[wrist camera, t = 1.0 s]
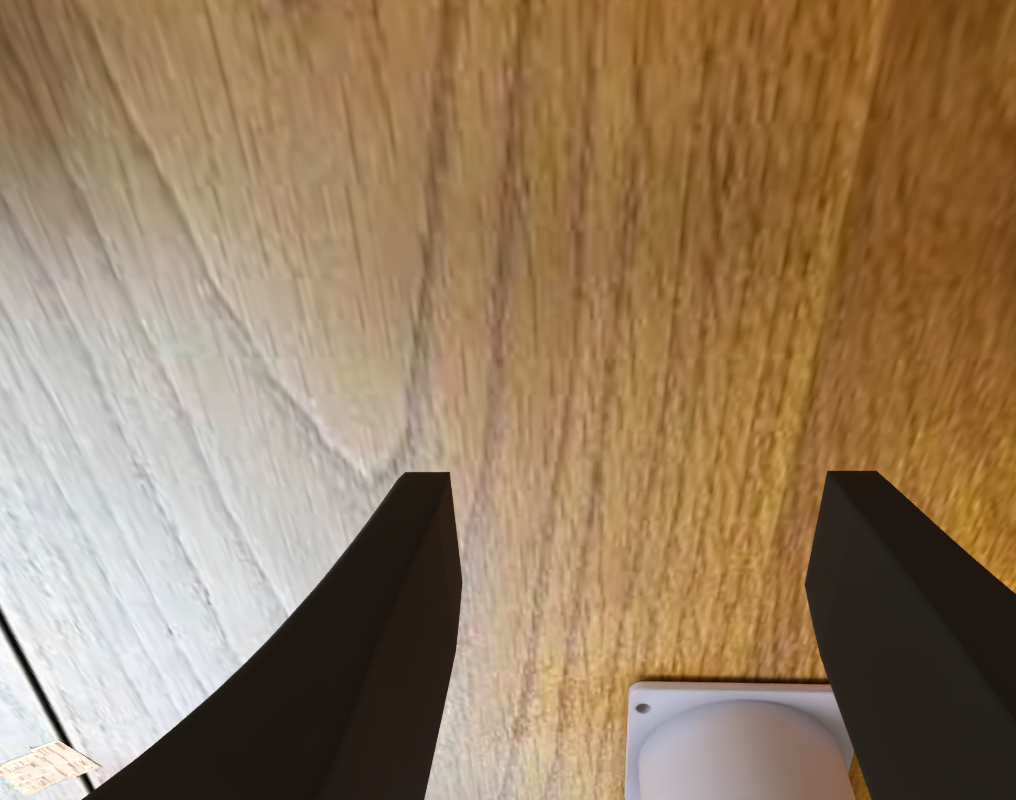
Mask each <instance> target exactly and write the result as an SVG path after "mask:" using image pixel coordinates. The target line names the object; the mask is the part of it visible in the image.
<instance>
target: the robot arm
mask: <svg viewBox="0 0 1016 800" xmlns="http://www.w3.org/2000/svg"><path fill="white" fill-rule="evenodd" d="M805 589H806V594H807V598H808V603H809V608H810V613H811V617H812V622H813V627H814V631H815V635H816V640H817V644H818V648H819V652H820V656H821V659H822V662H823V665H824V668H825V671H826V674H827V677H828V680H829V682H830V685H829V684H773V683H717V682H661V681H641V682H637V683H634V684H633V685H632V686H631V687H630V688H629V695H628V719H627V744H626V768H625V792H624V800H856V799H855V796H854V793H853V789H852V786H851V783H850V780H849V776H848V772H849V768H850V765H851V761H852V758H853V755H854V752H855V755H856V757H857V760H858V763H859V766H860V768H861V771H862V774H863V777H864V779H865V782H866V785H867V788H868V790H869V793H870V796H871V799H872V800H1016V594H1015V593H1014V592H1013V591H1011V590H1010V589H1009V588H1008V587H1007V586H1005V585H1004V584H1003V583H1002V582H1001V581H999V580H998V579H997V578H996V577H995V576H994V575H992V574H991V573H990V572H989V571H988V570H987V569H985V568H984V567H983V566H982V565H981V564H980V563H978V562H977V561H976V560H975V559H974V558H973V557H972V556H970V555H969V554H968V553H967V552H966V551H965V550H964V549H963V548H961V547H960V546H959V545H958V544H957V543H956V542H955V541H953V540H952V539H951V538H950V537H949V536H948V535H947V534H946V533H945V532H944V531H942V530H941V529H940V528H939V527H938V526H937V525H936V524H935V523H934V522H932V521H931V520H930V519H929V518H928V517H927V516H926V515H925V514H924V513H923V512H922V511H920V510H919V509H918V508H917V507H916V506H915V505H914V504H913V503H912V502H911V501H909V500H908V499H907V498H906V497H905V496H904V495H903V494H902V493H901V492H900V491H899V490H897V489H896V488H895V487H894V486H893V485H892V484H891V483H890V482H889V481H887V480H886V479H885V478H884V477H883V476H882V475H880V474H879V473H878V472H877V471H827V476H826V481H825V486H824V491H823V496H822V501H821V506H820V511H819V516H818V521H817V526H816V531H815V536H814V541H813V546H812V551H811V556H810V561H809V566H808V571H807V576H806V581H805ZM461 592H462V574H461V566H460V557H459V548H458V540H457V531H456V523H455V514H454V505H453V497H452V488H451V479H450V472H405V473H404V474H403V475H402V476H401V477H400V478H399V479H398V480H397V481H396V483H395V484H394V486H393V487H392V489H391V490H390V491H389V493H388V494H387V496H386V497H385V499H384V500H383V501H382V503H381V504H380V506H379V507H378V508H377V510H376V511H375V513H374V514H373V515H372V517H371V518H370V519H369V521H368V522H367V523H366V525H365V526H364V527H363V529H362V530H361V531H360V533H359V534H358V535H357V537H356V538H355V539H354V541H353V542H352V543H351V544H350V546H349V547H348V548H347V549H346V551H345V552H344V553H343V554H342V556H341V557H340V558H339V559H338V561H337V562H336V563H335V564H334V566H333V567H332V568H331V569H330V571H329V572H328V573H327V574H326V576H325V577H324V578H323V579H322V580H321V582H320V583H319V584H318V585H317V586H316V588H315V589H314V590H313V591H312V592H311V593H310V594H309V595H308V597H307V598H306V599H305V600H304V601H303V602H302V603H301V604H300V606H299V607H298V608H297V609H296V610H295V611H294V612H293V613H292V614H291V616H290V617H289V618H288V619H287V620H286V621H285V622H284V623H283V624H282V626H281V627H280V628H279V629H278V630H277V631H276V632H275V633H274V634H273V635H272V636H271V637H270V638H269V640H268V641H267V642H266V643H265V644H264V645H263V646H262V647H261V648H260V649H259V650H258V651H257V652H256V653H255V654H254V655H253V656H252V657H251V658H250V659H249V660H248V661H247V662H246V663H245V664H244V665H243V666H242V667H241V668H240V669H239V670H238V671H236V672H235V673H234V674H233V675H232V676H231V677H230V678H229V679H228V680H227V681H226V682H225V683H224V684H223V685H222V686H221V687H220V688H219V689H217V690H216V691H215V692H214V693H213V694H212V695H211V696H210V697H209V698H207V699H206V700H205V701H204V702H203V703H202V704H201V705H199V706H198V707H197V708H196V709H195V710H194V711H193V712H191V713H190V714H189V715H188V716H187V717H186V718H184V719H183V720H182V721H181V722H180V723H179V724H178V725H176V726H175V727H174V728H173V729H172V730H171V731H169V732H168V733H167V734H166V735H165V736H163V737H162V738H161V739H160V740H159V741H157V742H156V743H155V744H154V745H153V746H151V747H150V748H149V749H148V750H147V751H145V752H144V753H143V754H142V755H140V756H139V757H138V758H137V759H135V760H134V761H133V762H132V763H130V764H129V765H127V766H126V767H125V768H123V769H122V770H121V771H119V772H118V773H117V774H115V775H114V776H113V777H111V778H110V779H109V780H107V781H106V782H105V783H103V784H102V785H101V786H99V787H98V788H97V789H95V790H94V791H93V792H91V793H90V794H89V795H87V796H86V797H85V798H83V799H82V800H424V798H425V793H426V789H427V784H428V779H429V775H430V770H431V766H432V761H433V756H434V752H435V747H436V742H437V738H438V733H439V728H440V724H441V719H442V714H443V710H444V705H445V700H446V696H447V691H448V686H449V681H450V677H451V672H452V667H453V662H454V657H455V652H456V645H457V635H458V625H459V614H460V603H461Z"/></svg>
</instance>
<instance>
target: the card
mask: <svg viewBox="0 0 1016 800" xmlns="http://www.w3.org/2000/svg"><path fill="white" fill-rule="evenodd" d="M26 748H28V749H29V750H30V751H32V753H30V754H28V755H25V756H22V757H20V758H17V759H14V760H11V761H9V762H6V763H4V764H2V765H0V777H4V778H5V779H6V780H8V781H9V782H10V784H11V785H13V786H12V787H13V788H14V789H19V790H20V791H21V792H22V794H23V795H26V796H28V795H30V794H32V793H34V792H36V791H39V790H41V789H43V788H45V787H48V786H50V785H52V784H54V783H57V782H59V781H61V780H63V779H65V778H68V777H72V778H74V779H76V776H78V775H81V774H84V773H86V772H89V771H92V770H94V769H97V768H99V767H100V766H99V765H97V764H95V763H94V762H92V761H90V760H89V759H87V758H86V757H85V756H83V755H81V754H80V753H78V752H77V751H75V750H73V749H72V748H70V747H69V746H67V745H65V744H64V743H62V742H60V741H59V740H56V741H53V742H51V743H48V744H45V745H42V746H39V747H36V748H34V749H31V748H29V747H26Z"/></svg>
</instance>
